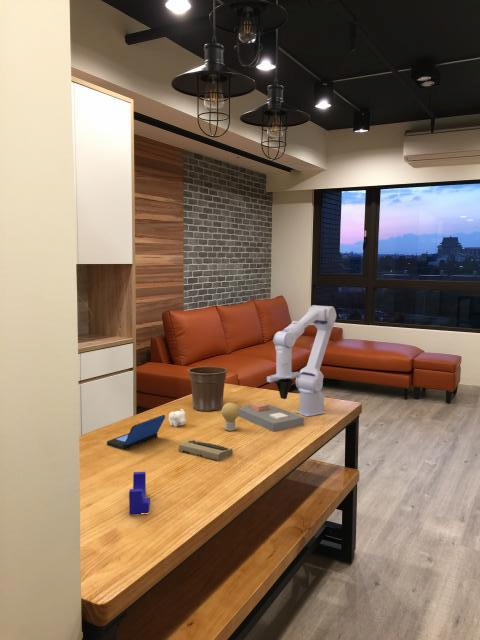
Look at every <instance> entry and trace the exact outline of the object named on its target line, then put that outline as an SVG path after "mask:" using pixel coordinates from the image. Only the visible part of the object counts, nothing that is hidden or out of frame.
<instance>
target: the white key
mask: <svg viewBox="0 0 480 640" xmlns="http://www.w3.org/2000/svg"><path fill="white" fill-rule="evenodd" d="M269 416H270V417H273V418H275V419H282V418H287V417H288V415H285V414H283V413H275V414H269Z"/></svg>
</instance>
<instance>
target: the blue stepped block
mask: <svg viewBox="0 0 480 640" xmlns="http://www.w3.org/2000/svg"><path fill="white" fill-rule="evenodd" d="M146 476H147V475H146V471H133V474H132V477H133V479H132V480H133V481H132V482H133V483H132V488H129V490H128V500H129V501H128V502H129V506H128V507H129V512H128V514H129V516H132V515H131V514H141V513H148V512H150V507H149V506H151V498H150V497H146V495H145V494H147V489H146V487H147V484H146V483H147V481H146V480H147V479H146Z"/></svg>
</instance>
